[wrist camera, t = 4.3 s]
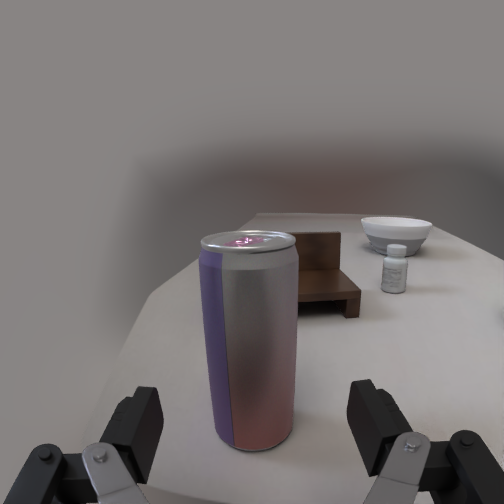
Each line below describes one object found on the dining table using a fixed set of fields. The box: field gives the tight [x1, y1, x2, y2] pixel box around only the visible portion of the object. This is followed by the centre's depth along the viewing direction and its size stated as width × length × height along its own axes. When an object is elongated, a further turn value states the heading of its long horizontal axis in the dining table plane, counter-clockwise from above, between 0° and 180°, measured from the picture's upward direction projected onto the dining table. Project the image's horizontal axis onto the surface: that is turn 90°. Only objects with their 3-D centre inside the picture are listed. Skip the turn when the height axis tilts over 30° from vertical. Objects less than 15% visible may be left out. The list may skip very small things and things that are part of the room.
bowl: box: [361, 217, 432, 256], centre depth 79 cm, size 20×20×8 cm
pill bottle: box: [382, 244, 408, 293], centre depth 51 cm, size 4×4×8 cm
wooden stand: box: [288, 232, 361, 318], centre depth 47 cm, size 20×12×10 cm, turn 91°
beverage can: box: [199, 230, 299, 451], centre depth 21 cm, size 6×6×15 cm
